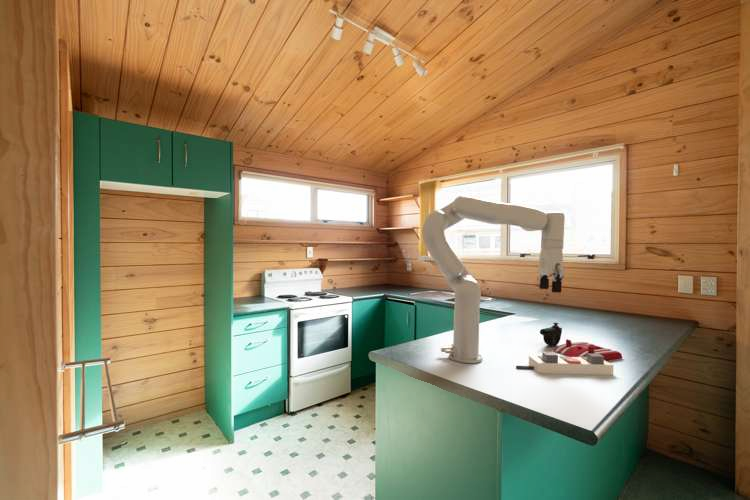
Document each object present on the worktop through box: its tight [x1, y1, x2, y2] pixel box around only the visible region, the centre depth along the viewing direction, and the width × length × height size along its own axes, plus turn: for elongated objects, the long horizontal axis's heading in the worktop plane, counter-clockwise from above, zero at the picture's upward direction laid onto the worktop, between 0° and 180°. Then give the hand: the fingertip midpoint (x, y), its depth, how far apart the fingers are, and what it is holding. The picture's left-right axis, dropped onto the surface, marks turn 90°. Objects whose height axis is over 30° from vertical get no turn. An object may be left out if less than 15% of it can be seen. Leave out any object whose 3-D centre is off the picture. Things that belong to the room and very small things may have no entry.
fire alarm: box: [552, 338, 623, 362], centre depth 147 cm, size 16×6×20 cm
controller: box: [539, 322, 563, 347], centre depth 159 cm, size 4×12×10 cm, turn 122°
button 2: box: [565, 358, 581, 364], centre depth 127 cm, size 4×3×3 cm
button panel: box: [515, 355, 614, 376], centre depth 129 cm, size 32×8×4 cm, turn 89°
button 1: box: [541, 351, 559, 363], centre depth 127 cm, size 4×3×3 cm
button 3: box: [587, 353, 604, 365], centre depth 127 cm, size 4×3×3 cm
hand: (549, 290), depth 134 cm, fingers open, 9 cm apart
